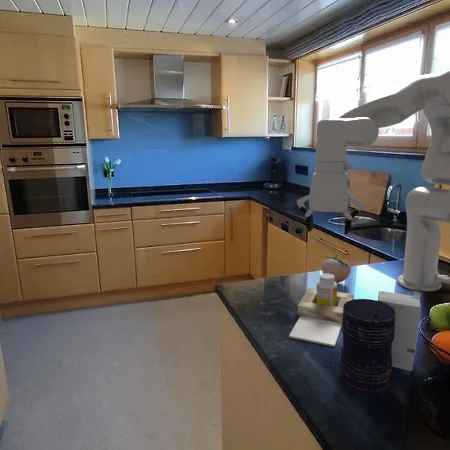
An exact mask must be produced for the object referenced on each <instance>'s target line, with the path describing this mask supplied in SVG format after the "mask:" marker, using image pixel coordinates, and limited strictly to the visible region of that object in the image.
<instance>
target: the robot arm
mask: <svg viewBox="0 0 450 450" xmlns="http://www.w3.org/2000/svg"><path fill="white" fill-rule="evenodd" d="M421 110H423V113H424V116H425V118H426V120H427V122H428V125H429V127H430V132H431V135H430V136H431V137H430V141H429V143H428V148H427V151H426V153H425V157H424V160H423V163H422V166H421V170H420V177H421V179H422V180H423V181H424V182H427V183H430V184H433V185H443V186H450V71H449V70H447V71H441V72H436V73H435V72H434V73H430V74H429V73H428V74H423V75H419V76H417V77H414V78H412V79H411V80H409V81H407V82H405V83H404V84H402V85H401V86H399V87H397V88H396V89H394V90H392V91H390V92H389V93H387V94H385V95H383V96H381V97H379V98H375V99H373V100H371V101H369V102H366V103H364V104H361V105H359V106H357V107H353V108H352V109H350V110H348V111H346V112H344V113H343V114H342V115H339V116H338V117H336V118H327V119H326V118H324V119H321V120H319V121H318V122H317V124H316V135H315V136H316V140H315V141H316V142H315V143H316V144H315V170H314V173H313V174H312V177H311V183H310V188H309V189H310V190H309V194H308V195H305V196H302V197H300V198H299V199H297V200H296V204H297V206H298V208H299V211H300V212H301V213H302V214H303V215H304V217H305V219H306V220H305V227H306V229H307V232H309V233H310V232H311V231H313V230H314V216H313V213H314V212H324V213H326V212H327V213H328V212H329V213H342V215H344V216H345V221H344V235H346V236H347V235H349V232H352V224H353V218H355V217H357V215H359V213H360V212H361V210H362V209H363V207H364V205H365V203H364V202H363V201H362V200H359V199H358V198H355V197H354V196H352V195H351V181H350V175H349V173H348V172H346V171H349V170H352V167H353V166H352V165H353V164H352V163H348V162H347V149H348V148H366V147H369V146H371V145H373V144H374V143H375V142H376V140H377V139H378V138H379V133H380V132H379V131H380V129H381V128H382V129H383V128H388V127H391V126H396V125H398V124H401V123H403V122H405V120H407V119H408V118H410V117H412V116H413V115H415V114H416V113H418V112H419V111H421ZM307 201H308V206H309V209H308V208H307V207H306V206H305V202H307ZM351 204H353V205H355V206H356V207H355V209H354V210H353V211H351V210H350V207H351ZM404 205H405V213H406V237H405V249H404V260H403V270H402V271H403V272H402V274H400V275H399V276H398V277H397V283H398V284H399V285H400V286H402V287H404V288H406V289H409V290H412V291H417V292H435V291H439V290H440V289H441V288H442V283H443V284H447V285H450V277H449V275H444V274H440V273H439V271H438V265H439V255H440V246H441V245H440V244H441V237H442V236H441V235H442V232H441V227H440V224H439V222H442V223H447V224H450V188H449V189H445V188H438V187H430V186H418V187H414V188H412V189H411V190H410V191H409V192H408V193H407V195H406V198H405V203H404Z"/></svg>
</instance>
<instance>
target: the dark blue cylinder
mask: <svg viewBox="0 0 450 450" xmlns="http://www.w3.org/2000/svg"><path fill="white" fill-rule="evenodd" d="M395 316H396V312H395V310H394V309H393V308H392V307H391V306H389V305H388V304H385V303H383V302H380V301H378V300H376V299H369V298H356V299H354V298H353V300H350V301H348V302H346V303H345V304H344V306H343V317H342V327H341V331H342V334H343V337H342V346H341V348H340V349H341V352H340V377H341V378H342V379H343V381H344V382H345V383H346V384H348V385H349V386H350V387H352V388H355V389H357V390H360V391H364V392H380V391H384V390H386V389H387V388H388V387H389V386H390V384H391V376H392V370H393V367H392V355H391V349H392V342H393V340H394V336H395V335H394V332H395Z"/></svg>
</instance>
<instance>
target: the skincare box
mask: <svg viewBox="0 0 450 450" xmlns="http://www.w3.org/2000/svg"><path fill="white" fill-rule="evenodd" d="M377 301H380V302H383V303H385V304H388V305H389V306H391V307H392V308H393V309H394V310H395V312H396V316H395V332H394V335H395V336H394V340H393V342H392V349H391V355H392V368H396V369H400V370H405V371H410V372H412V371H413V368H414V359H415V354H416V353H415V352H416V345H417V338H418V331H419V330H418V329H419V324H420V315H421V301H420V297H419V296H416V295H415V296H414V295H408V294H405V293H398V292H390V291H382V290H378V295H377Z"/></svg>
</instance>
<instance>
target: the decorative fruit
mask: <svg viewBox="0 0 450 450" xmlns="http://www.w3.org/2000/svg"><path fill="white" fill-rule="evenodd" d="M325 258H326V259H325V260H324V261H323V263H322V265H321V270H322V271H321V272H322V274H332V275H334V277H335V282H336V283H337V284H339V283H343V282H344V281H346V280H347V279H348V278H349V276H350V274H351V271H352V269H351V265H350V262H348V261H347V260H345V259H344V258H342V257H341V258H339V257H338V255H337V254H336V255H326V256H325Z"/></svg>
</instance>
